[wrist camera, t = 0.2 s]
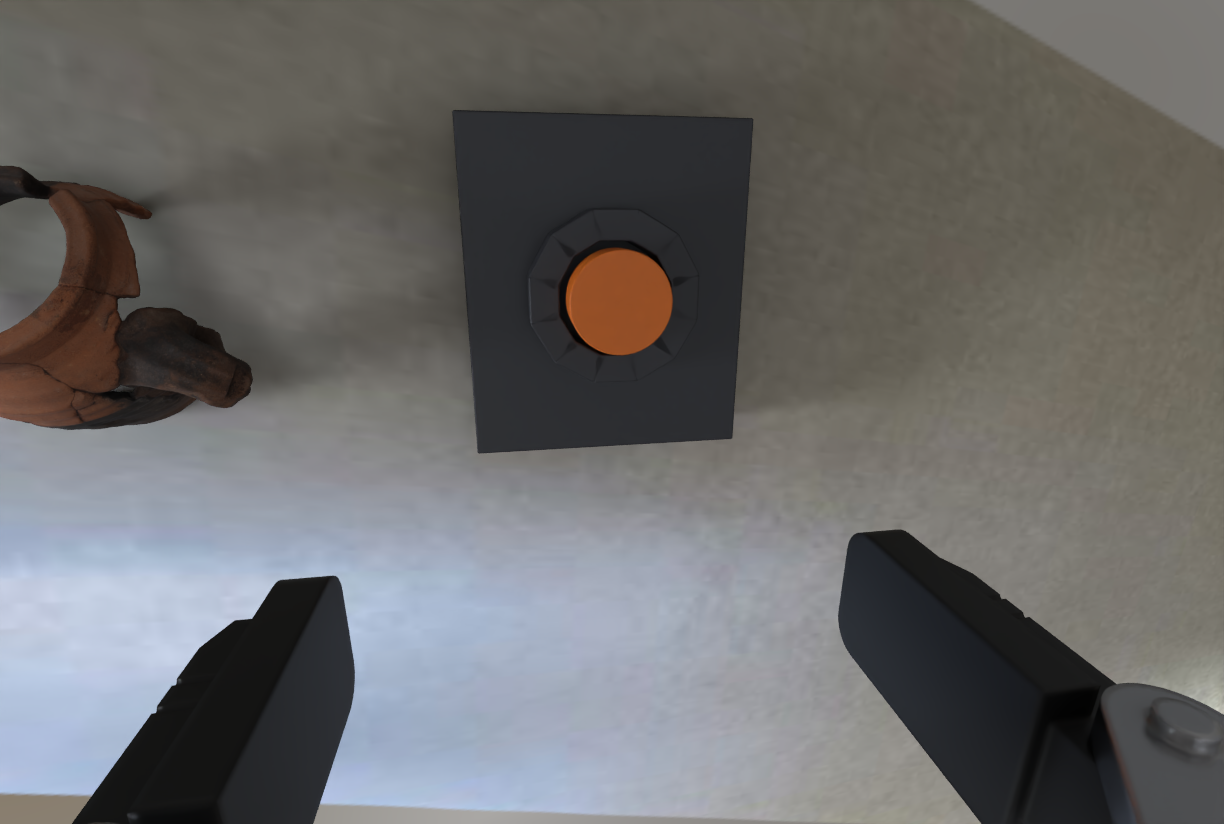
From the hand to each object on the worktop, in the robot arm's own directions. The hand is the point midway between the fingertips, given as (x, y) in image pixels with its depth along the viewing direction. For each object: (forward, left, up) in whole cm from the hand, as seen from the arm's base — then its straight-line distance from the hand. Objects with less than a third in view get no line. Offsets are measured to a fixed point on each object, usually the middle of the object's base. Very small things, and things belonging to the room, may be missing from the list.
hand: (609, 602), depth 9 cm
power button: (-3, +3, -16) cm, 17 cm away
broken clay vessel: (-2, -17, -21) cm, 27 cm away
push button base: (-3, +3, -21) cm, 21 cm away
